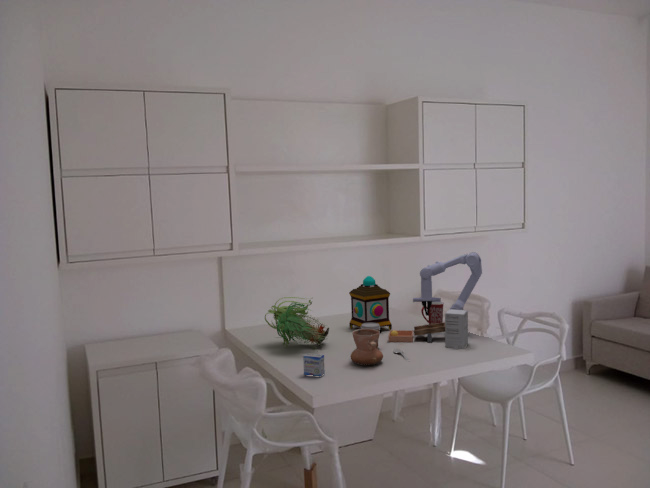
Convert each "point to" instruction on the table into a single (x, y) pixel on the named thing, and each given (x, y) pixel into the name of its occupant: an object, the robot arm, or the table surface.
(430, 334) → the seesaw stand
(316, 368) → the medicine box
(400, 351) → the spoon
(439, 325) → the brown wooden tray
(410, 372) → the table surface
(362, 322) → the decorative lantern
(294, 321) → the plant
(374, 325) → the disposable coffee cup
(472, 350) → the table surface
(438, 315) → the mug
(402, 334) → the tray
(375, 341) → the ceramic jug
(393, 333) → the ball
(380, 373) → the table surface
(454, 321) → the supplement box
